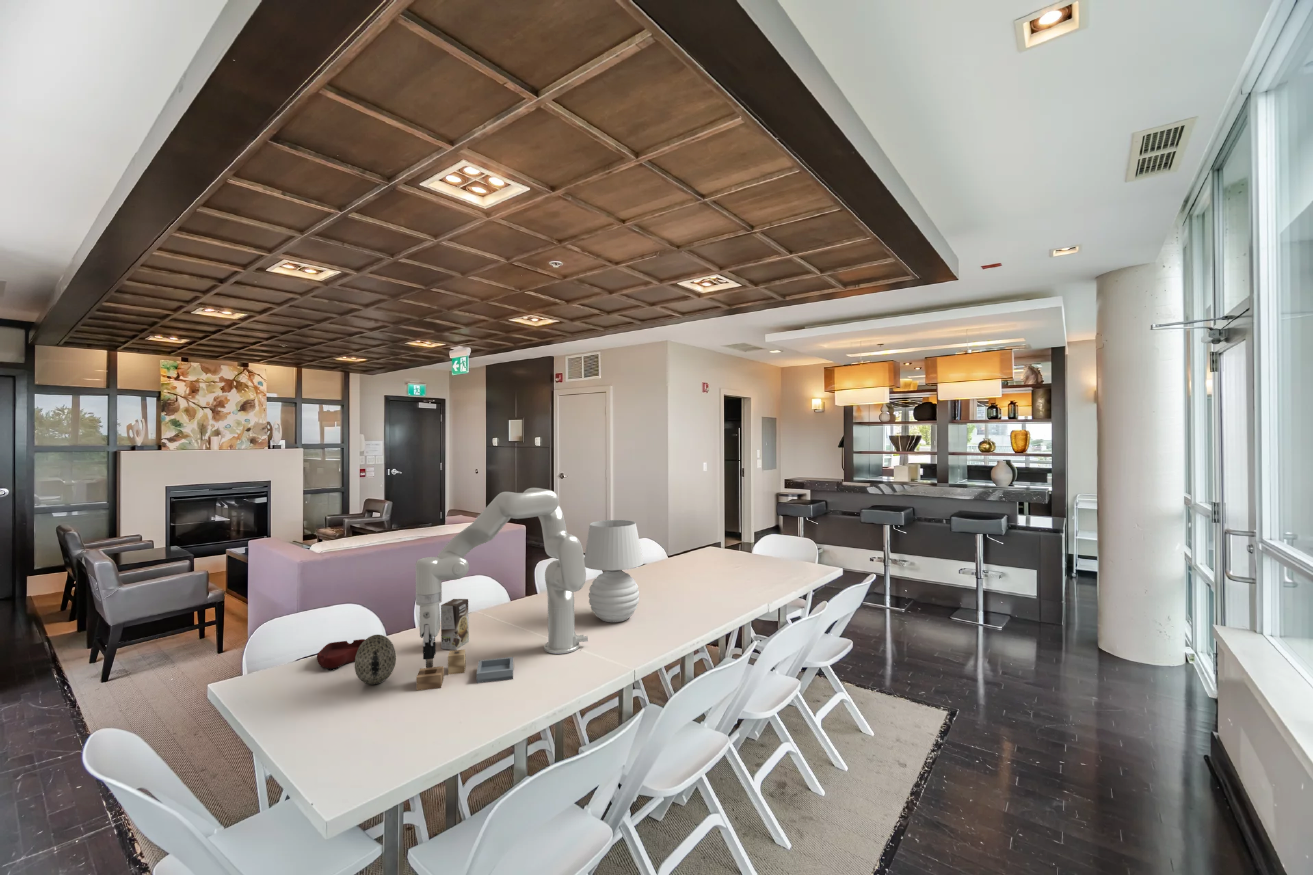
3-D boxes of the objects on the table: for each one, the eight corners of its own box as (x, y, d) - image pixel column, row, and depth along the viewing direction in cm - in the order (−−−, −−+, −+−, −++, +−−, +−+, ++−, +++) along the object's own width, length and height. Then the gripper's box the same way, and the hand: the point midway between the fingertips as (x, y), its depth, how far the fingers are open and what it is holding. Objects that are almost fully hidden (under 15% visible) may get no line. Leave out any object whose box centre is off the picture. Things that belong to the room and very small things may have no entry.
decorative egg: (356, 679, 184) (355, 632, 184) (396, 672, 188) (395, 627, 188) (353, 693, 173) (352, 644, 173) (395, 686, 178) (395, 638, 178)
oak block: (465, 667, 192) (465, 648, 192) (464, 672, 188) (464, 654, 188) (449, 668, 191) (449, 650, 191) (448, 674, 186) (447, 655, 186)
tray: (513, 665, 193) (513, 656, 193) (513, 679, 182) (512, 669, 182) (479, 669, 190) (478, 660, 190) (476, 683, 179) (476, 673, 179)
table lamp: (611, 606, 259) (609, 517, 259) (656, 615, 244) (654, 521, 244) (571, 621, 238) (569, 525, 238) (618, 632, 223) (616, 530, 223)
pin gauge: (433, 664, 180) (433, 632, 180) (432, 667, 178) (432, 635, 178) (426, 665, 180) (425, 633, 180) (425, 668, 178) (424, 635, 178)
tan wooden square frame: (443, 678, 183) (443, 666, 183) (440, 687, 176) (440, 674, 176) (420, 681, 182) (420, 668, 182) (416, 690, 175) (416, 677, 175)
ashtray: (353, 648, 212) (352, 634, 212) (380, 656, 204) (379, 642, 204) (302, 665, 197) (302, 650, 197) (330, 674, 188) (329, 659, 188)
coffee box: (456, 650, 208) (455, 605, 208) (440, 649, 209) (439, 604, 209) (469, 641, 217) (469, 598, 217) (454, 640, 218) (453, 597, 218)
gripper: (438, 604, 172) (438, 665, 172) (444, 590, 188) (445, 646, 188) (411, 606, 170) (412, 668, 170) (420, 592, 186) (420, 649, 186)
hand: (429, 656), depth 179 cm, fingers closed on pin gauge, 2 cm apart
